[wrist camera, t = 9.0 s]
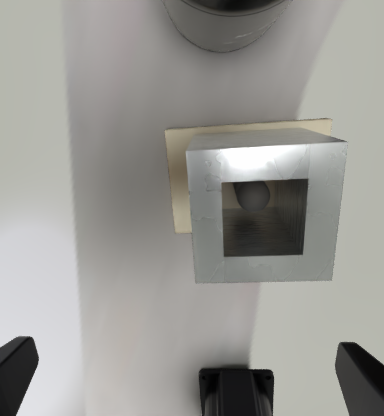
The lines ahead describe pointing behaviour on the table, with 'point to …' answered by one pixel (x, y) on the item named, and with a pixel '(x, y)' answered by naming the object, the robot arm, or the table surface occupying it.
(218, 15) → the supplement bottle
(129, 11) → the table surface
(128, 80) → the table surface
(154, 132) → the table surface
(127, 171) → the table surface
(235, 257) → the hollow square tube
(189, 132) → the shaft plate
